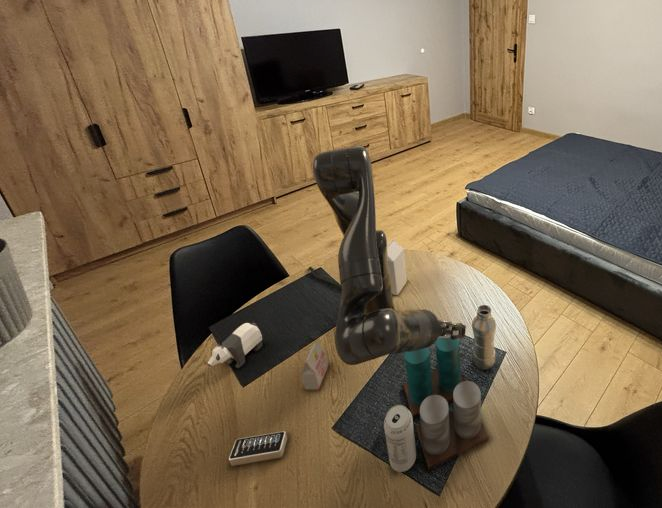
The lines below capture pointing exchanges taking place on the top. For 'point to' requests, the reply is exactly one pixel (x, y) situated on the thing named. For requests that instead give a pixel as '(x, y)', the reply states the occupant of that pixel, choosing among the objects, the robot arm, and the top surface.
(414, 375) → the can rack
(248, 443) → the white black flat block
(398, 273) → the milk carton
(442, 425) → the tin rack
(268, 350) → the top surface
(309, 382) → the pink white gabled box
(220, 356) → the giant panda
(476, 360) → the plastic bottle
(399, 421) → the energy drink can
